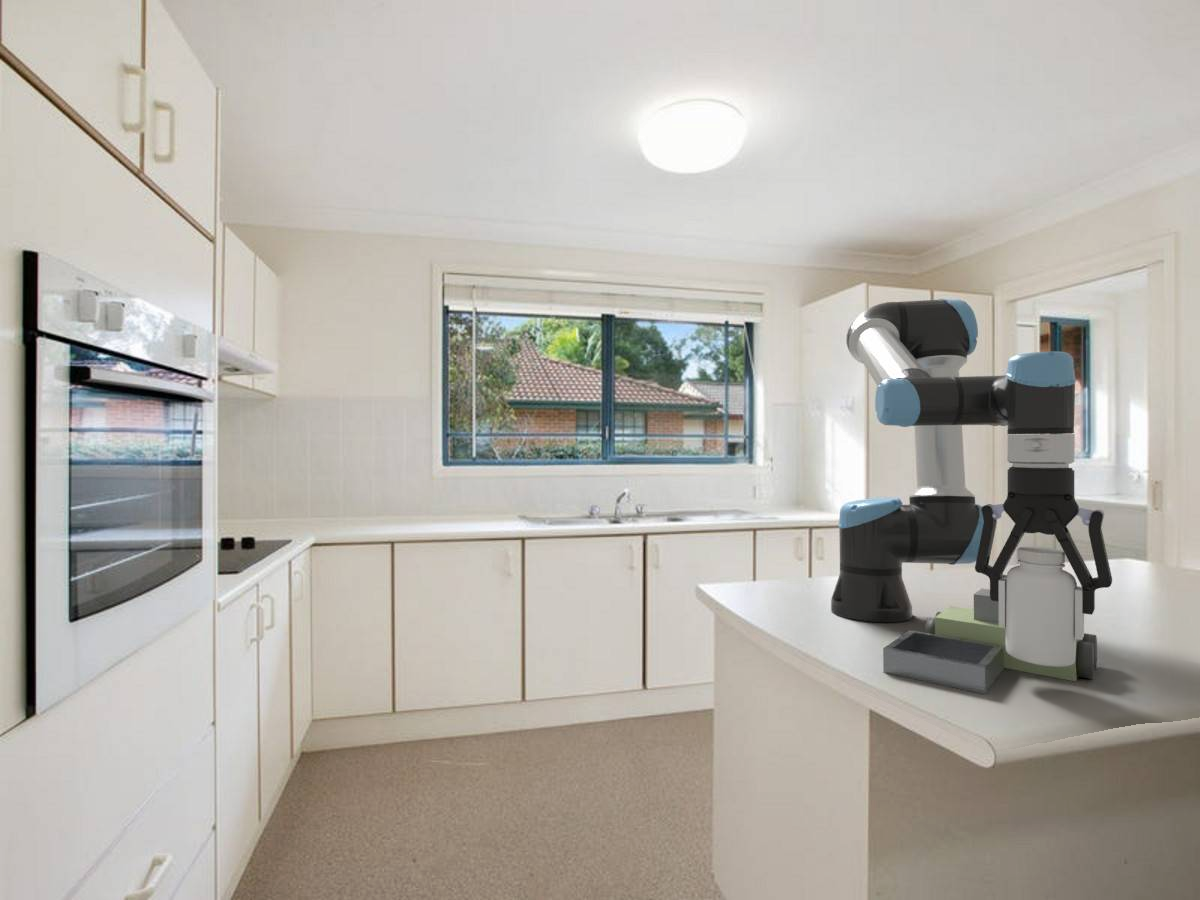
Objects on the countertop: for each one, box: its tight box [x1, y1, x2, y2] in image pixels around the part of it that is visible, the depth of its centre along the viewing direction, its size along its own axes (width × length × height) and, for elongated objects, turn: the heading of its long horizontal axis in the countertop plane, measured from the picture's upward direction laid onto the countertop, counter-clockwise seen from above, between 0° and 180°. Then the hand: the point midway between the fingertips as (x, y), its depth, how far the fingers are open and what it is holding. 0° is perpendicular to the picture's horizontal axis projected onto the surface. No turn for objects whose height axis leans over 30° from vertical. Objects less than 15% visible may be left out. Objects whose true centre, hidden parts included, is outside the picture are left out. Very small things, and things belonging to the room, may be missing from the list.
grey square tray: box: [882, 629, 1005, 695], centre depth 92 cm, size 13×13×4 cm
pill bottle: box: [1005, 546, 1078, 667], centre depth 85 cm, size 8×8×15 cm
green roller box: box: [924, 573, 1098, 682], centre depth 98 cm, size 21×11×13 cm, turn 48°
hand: (1040, 630), depth 86 cm, fingers closed on pill bottle, 8 cm apart
